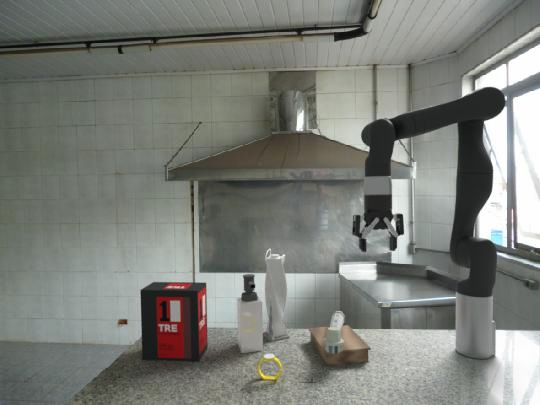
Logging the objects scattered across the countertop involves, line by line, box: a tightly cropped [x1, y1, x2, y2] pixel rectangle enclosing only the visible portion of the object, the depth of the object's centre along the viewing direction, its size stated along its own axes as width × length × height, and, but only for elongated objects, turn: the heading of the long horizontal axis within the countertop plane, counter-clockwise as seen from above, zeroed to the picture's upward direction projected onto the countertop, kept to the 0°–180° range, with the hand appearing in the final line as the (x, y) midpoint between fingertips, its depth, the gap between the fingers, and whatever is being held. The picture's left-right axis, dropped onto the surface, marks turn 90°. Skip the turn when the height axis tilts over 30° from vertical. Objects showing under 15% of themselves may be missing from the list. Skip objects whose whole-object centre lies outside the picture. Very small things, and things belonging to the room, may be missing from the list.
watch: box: [257, 353, 283, 381], centre depth 92 cm, size 6×3×6 cm, turn 84°
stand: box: [308, 324, 372, 366], centre depth 107 cm, size 13×17×4 cm
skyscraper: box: [263, 248, 291, 343], centre depth 119 cm, size 8×8×28 cm
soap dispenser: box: [236, 273, 264, 354], centre depth 109 cm, size 6×9×22 cm
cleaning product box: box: [139, 281, 209, 363], centre depth 106 cm, size 16×9×20 cm, turn 84°
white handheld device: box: [323, 310, 346, 354], centre depth 107 cm, size 5×7×25 cm
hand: (378, 251), depth 101 cm, fingers open, 8 cm apart
